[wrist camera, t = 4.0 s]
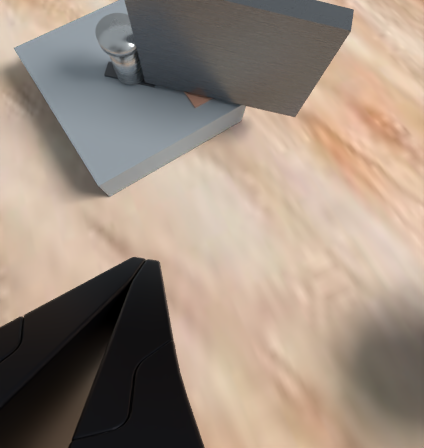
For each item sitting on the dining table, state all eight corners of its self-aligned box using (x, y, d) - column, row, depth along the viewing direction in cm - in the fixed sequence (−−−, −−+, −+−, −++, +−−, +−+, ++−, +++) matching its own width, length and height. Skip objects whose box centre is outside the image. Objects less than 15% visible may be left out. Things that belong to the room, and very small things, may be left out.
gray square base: (109, 196, 20) (97, 185, 18) (34, 73, 22) (12, 46, 19) (241, 120, 22) (247, 100, 20) (163, 11, 24) (159, -21, 21)
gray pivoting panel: (107, 84, 19) (57, -27, 12) (117, 52, 19) (75, -72, 12) (292, 126, 19) (349, 43, 12) (298, 94, 20) (354, -3, 13)
